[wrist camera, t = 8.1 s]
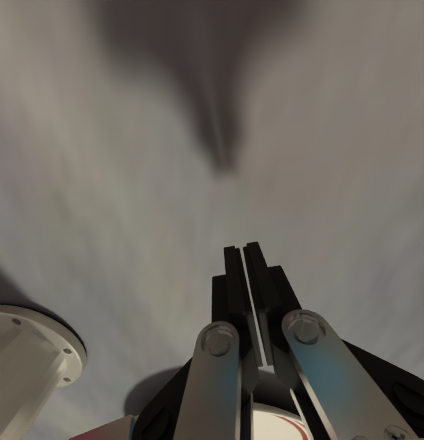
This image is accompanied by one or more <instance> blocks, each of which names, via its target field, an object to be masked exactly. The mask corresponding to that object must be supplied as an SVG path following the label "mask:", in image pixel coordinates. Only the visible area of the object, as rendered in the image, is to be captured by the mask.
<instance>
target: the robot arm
mask: <svg viewBox="0 0 424 440" xmlns="http://www.w3.org/2000/svg"><path fill="white" fill-rule="evenodd" d="M243 251H244V257H245V262H246V268H247V273H248V278H249V284H250V289H251V294H252V299H253V303H254V308H255V312H256V317H257V321H258V326H259V330H260V334H261V339H262V343H263V348H264V352H265V357H266V361H267V365H268V366H270V365H273V367H274V371H275V375H277V378H278V379H279V380H280V381H282V382H283V383H284V384H286V385H287V386H288V387H289V389H290V393H291V395H292V398H293V400H294V402H295V405H296V407H297V409H298V412H299V414H300V416H301V419H302V421H303V424H304V426H305V428H306V431H307V433H308V435H309V438H310V440H424V380H422V379H420V378H419V377H417V376H415V375H413V374H411V373H409V372H407V371H405V370H403V369H401V368H399V367H397V366H395V365H393V364H391V363H389V362H387V361H385V360H383V359H381V358H379V357H377V356H375V355H373V354H371V353H369V352H367V351H365V350H363V349H361V348H359V347H357V346H355V345H352V344H350V343H348V342H346V341H344V340H342V339H340V338H339V336H338V335H337V334H336V332H335V331H334V330H333V329H332V327H331V326H330V325H329V324H328V322H327V321H326V320H325V319H324V318H323V317H322V316H320V315H318V314H317V313H315V312H312V311H309V310H303V309H302V308H301V306H300V304H299V302H298V300H297V298H296V296H295V294H294V291H293V289H292V287H291V285H290V283H289V281H288V279H287V277H286V275H285V273H284V271H283V269H282V267H281V266H280V265H279V266H273V267H267V264H266V262H265V259H264V257H263V254H262V251H261V249H260V246H259V244H258V242H252V243H247V247H243ZM224 258H225V271H226V275H220V276H214V277H212V323H211V324H208V325H207V326H206V327H204V328H203V329H202V331H201V332H200V333H199V335H198V338H197V341H196V345H195V349H194V353H193V357H192V358H191V359H190V360H189V361H188V362H187V363H186V364H185V365H184V366H183V367H182V368H181V369H180V371H179V372H178V373H177V374H176V375H175V376H174V377H173V378H172V379H171V380H170V381H169V382H168V383H167V384H166V385H165V386H164V388H163V389H162V390H161V391H160V392H159V393H158V394H157V395H156V396H155V397H154V398H153V399H152V400H151V401H150V402H149V403H148V405H147V406H146V407H145V408H144V409H143V411H142V412H141V413H140V414H139V415H137V416H134V417H133V415H132V414H130V415H127V416H125V417H122V418H120V419H118V420H115V421H113V422H110V423H108V424H105V425H103V426H100V427H98V428H95V429H93V430H90V431H88V432H85V433H83V434H80V435H78V436H75V437H73V438H71V439H69V440H254V428H253V394H252V392H253V390H254V388H255V387H256V385H257V384H258V382H259V381H260V380H259V373H258V367H261V366H263V363H262V358H261V353H260V348H259V342H258V337H257V332H256V326H255V321H254V316H253V311H252V306H251V301H250V296H249V291H248V287H247V282H246V277H245V272H244V268H243V263H242V258H241V253H240V249H239V248H236V249H235V246H230V247H225V248H224ZM85 365H86V353H85V350H84V348H83V346H82V344H81V343H80V341H79V340H78V339H77V337H76V336H75V335H74V334H73V333H72V332H71V331H69V330H68V329H67V328H66V327H64V326H63V325H62V324H60V323H59V322H57V321H55V320H54V319H52V318H50V317H48V316H46V315H44V314H41V313H39V312H36V311H33V310H30V309H27V308H22V307H18V306H10V305H0V440H22V439H23V437H24V436H25V434H26V433H27V431H28V430H29V428H30V426H31V425H32V423H33V422H34V420H35V419H36V417H37V415H38V414H39V412H40V411H41V409H42V408H43V406H44V405H45V403H46V401H47V400H48V398H49V397H50V395H51V394H52V392H53V390H54V389H55V388H58V387H63V386H66V385H69V384H71V383H73V382H74V381H76V380H77V379H78V378H79V376H80V375H81V373H82V371H83V369H84V368H85Z"/></svg>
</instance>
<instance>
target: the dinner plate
mask: <svg viewBox="0 0 424 440" xmlns="http://www.w3.org/2000/svg"><path fill="white" fill-rule="evenodd" d="M253 428H254V440H310V438H309V435H308V433H307V431H306V428H305V426H304V424H303V421H302V419H301V417H300V416H298V415H295V414H293V413H291V412H288V411H285V410H282V409H279V408H276V407H273V406H269V405H265V404H260V403H255V402H253Z"/></svg>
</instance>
